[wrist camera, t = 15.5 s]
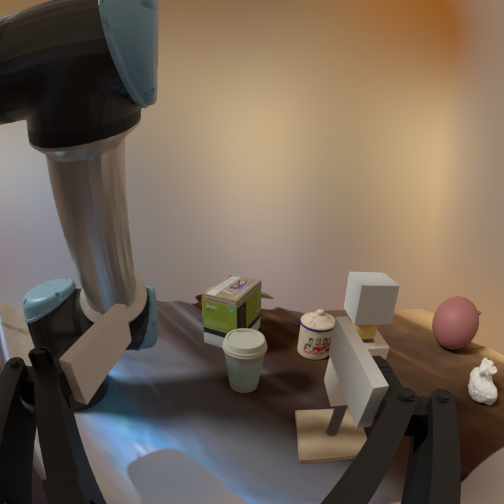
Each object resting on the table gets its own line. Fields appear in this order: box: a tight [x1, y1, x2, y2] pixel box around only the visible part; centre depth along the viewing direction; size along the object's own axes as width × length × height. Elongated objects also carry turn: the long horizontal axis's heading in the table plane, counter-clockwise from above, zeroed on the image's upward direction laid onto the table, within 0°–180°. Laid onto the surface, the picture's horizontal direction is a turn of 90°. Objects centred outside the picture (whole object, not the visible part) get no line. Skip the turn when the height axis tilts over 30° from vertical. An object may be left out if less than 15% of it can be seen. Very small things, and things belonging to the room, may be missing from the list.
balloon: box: [432, 297, 481, 350], centre depth 59 cm, size 15×20×15 cm
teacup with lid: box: [297, 309, 335, 360], centre depth 64 cm, size 12×9×12 cm
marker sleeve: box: [324, 330, 389, 406], centre depth 34 cm, size 6×6×10 cm
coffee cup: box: [222, 328, 267, 393], centre depth 51 cm, size 9×9×12 cm
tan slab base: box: [295, 408, 367, 463], centre depth 38 cm, size 12×12×1 cm
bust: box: [468, 358, 497, 405], centre depth 37 cm, size 12×8×11 cm
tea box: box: [202, 275, 261, 348], centre depth 70 cm, size 15×10×15 cm
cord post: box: [326, 272, 399, 436], centre depth 34 cm, size 5×5×28 cm
